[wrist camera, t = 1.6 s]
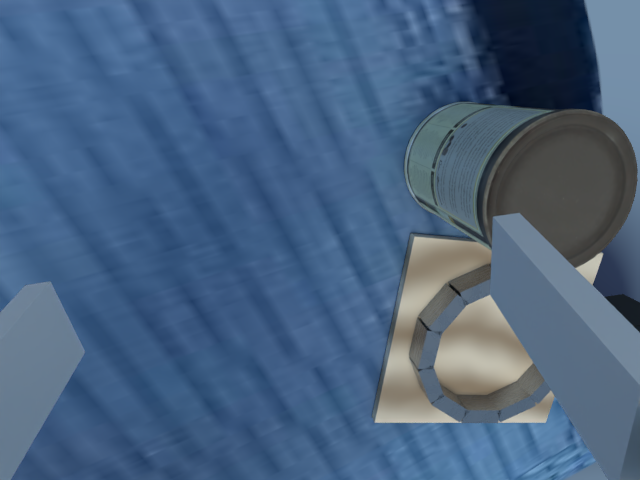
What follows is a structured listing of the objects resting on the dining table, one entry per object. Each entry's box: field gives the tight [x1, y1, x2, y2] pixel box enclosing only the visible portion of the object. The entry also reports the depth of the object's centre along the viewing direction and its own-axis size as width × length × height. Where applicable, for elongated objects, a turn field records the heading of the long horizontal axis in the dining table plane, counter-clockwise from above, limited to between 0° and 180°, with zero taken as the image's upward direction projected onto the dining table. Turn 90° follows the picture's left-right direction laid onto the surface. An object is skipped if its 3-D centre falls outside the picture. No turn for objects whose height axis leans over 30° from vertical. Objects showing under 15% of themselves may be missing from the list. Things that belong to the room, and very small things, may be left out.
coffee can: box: [404, 102, 637, 268], centre depth 35 cm, size 10×10×14 cm
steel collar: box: [409, 264, 551, 423], centre depth 46 cm, size 16×16×2 cm
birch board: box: [372, 233, 603, 423], centre depth 48 cm, size 20×20×1 cm
